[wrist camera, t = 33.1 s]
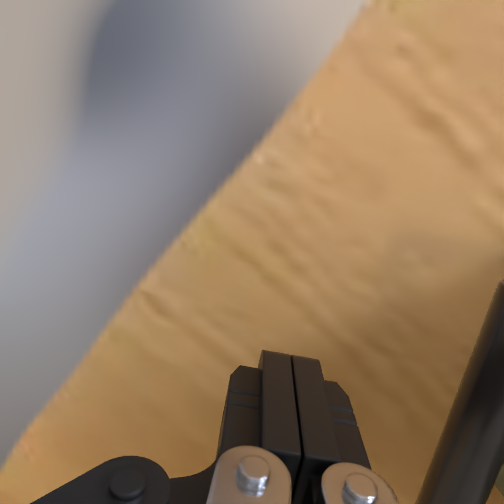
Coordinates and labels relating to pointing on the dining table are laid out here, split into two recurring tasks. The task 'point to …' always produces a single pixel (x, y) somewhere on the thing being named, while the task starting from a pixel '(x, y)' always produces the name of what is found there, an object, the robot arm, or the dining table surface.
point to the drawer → (473, 424)
